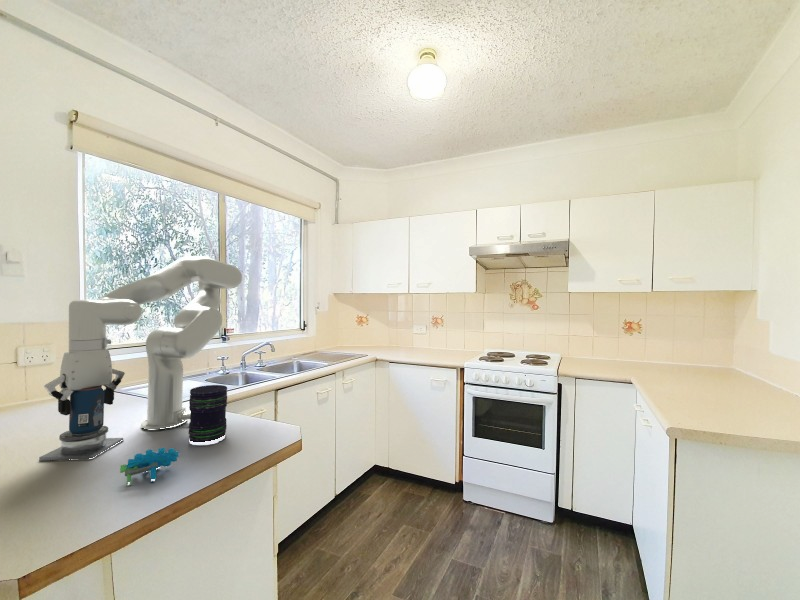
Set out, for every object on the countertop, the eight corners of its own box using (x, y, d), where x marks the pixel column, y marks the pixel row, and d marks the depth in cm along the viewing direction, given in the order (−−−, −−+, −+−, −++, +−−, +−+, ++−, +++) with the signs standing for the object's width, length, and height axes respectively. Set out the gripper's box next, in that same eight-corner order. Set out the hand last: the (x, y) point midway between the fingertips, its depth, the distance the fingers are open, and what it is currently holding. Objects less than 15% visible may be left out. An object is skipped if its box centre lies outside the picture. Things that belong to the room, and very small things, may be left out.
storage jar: (209, 448, 98) (211, 394, 98) (179, 444, 100) (181, 391, 100) (233, 435, 108) (234, 386, 108) (205, 432, 110) (206, 383, 110)
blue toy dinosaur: (181, 457, 88) (174, 440, 82) (182, 481, 85) (175, 465, 78) (127, 472, 83) (115, 455, 76) (125, 498, 80) (112, 483, 73)
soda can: (73, 429, 96) (75, 385, 97) (106, 425, 100) (107, 382, 100) (64, 438, 90) (66, 391, 90) (99, 433, 94) (100, 388, 94)
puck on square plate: (123, 441, 101) (123, 423, 101) (91, 459, 89) (92, 440, 89) (77, 442, 100) (77, 424, 100) (39, 461, 88) (39, 441, 88)
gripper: (115, 341, 104) (115, 398, 105) (37, 348, 89) (37, 416, 89) (131, 342, 101) (131, 402, 102) (53, 351, 86) (53, 421, 86)
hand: (87, 408), depth 95 cm, fingers open, 9 cm apart
